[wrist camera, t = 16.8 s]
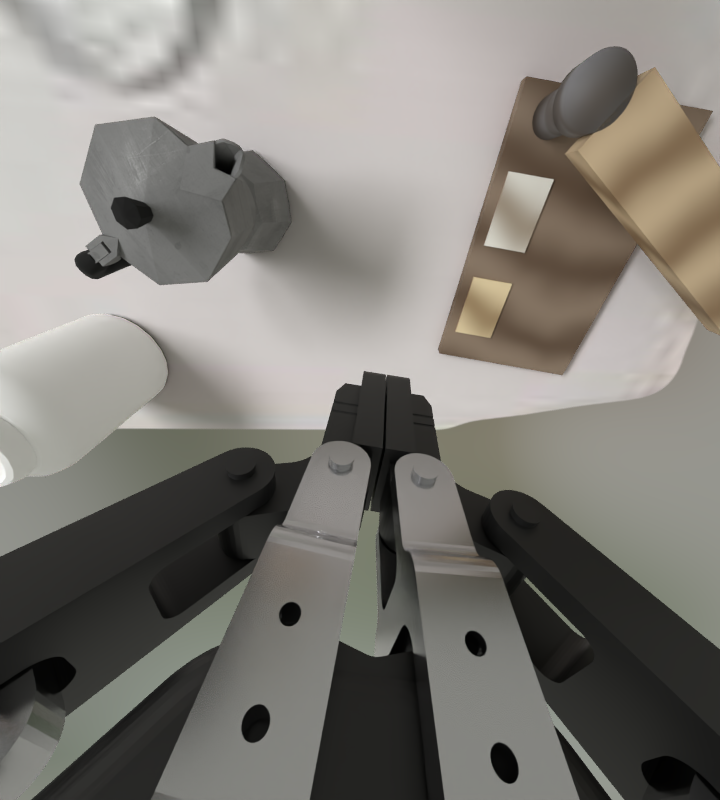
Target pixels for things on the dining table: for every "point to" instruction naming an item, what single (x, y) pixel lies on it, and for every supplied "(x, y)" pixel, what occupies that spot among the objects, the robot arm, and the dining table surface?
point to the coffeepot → (176, 203)
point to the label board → (537, 248)
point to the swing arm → (647, 170)
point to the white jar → (72, 391)
